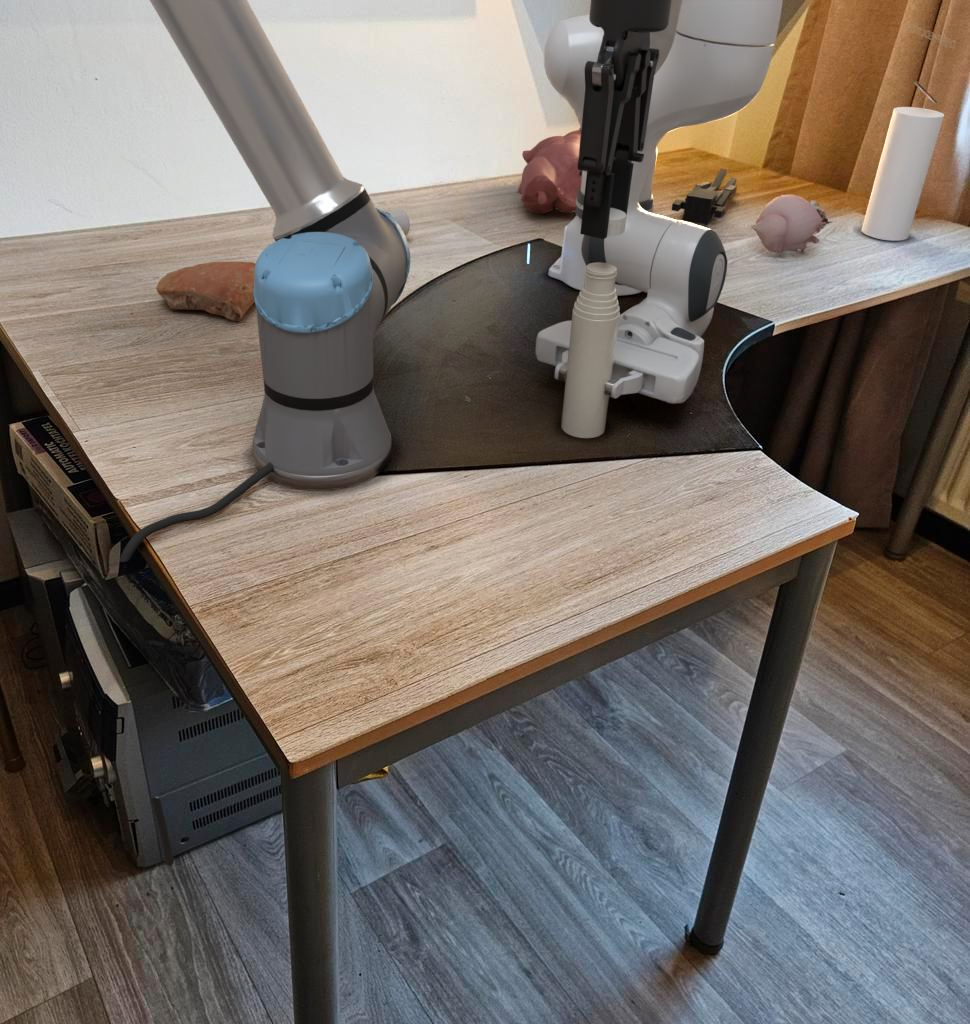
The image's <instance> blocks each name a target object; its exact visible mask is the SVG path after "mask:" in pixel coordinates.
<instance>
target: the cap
mask: <svg viewBox="0 0 970 1024" xmlns="http://www.w3.org/2000/svg"><path fill="white" fill-rule="evenodd" d="M625 226H626V213H625V212H623V211H621V210H618V209H615V208H610V215H609V223H608V231H607V236H615V235H620V234H622V233H623V232H624V231H625Z"/></svg>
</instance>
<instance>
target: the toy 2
mask: <svg viewBox="0 0 970 1024" xmlns="http://www.w3.org/2000/svg"><path fill="white" fill-rule="evenodd" d="M820 207H821V206H820V203H817V202H816V201H815V200H813V199H811V200H810V201H808V200H807V199H806V198H804V197H801V196H798V195H796V194H789V193H788V194H781V195H778V196H777V197H774V198H773V199H771V200H770V201H769V202H768V203H767V204H765V206H763V209H762V210H761V212H760V213H759V215H758V217H756V220H755V224H751V225H750V226H751V229H752V230H754V231H755V233H756V234H757V235H756V236H758V238H759V240H760V242H761V244H762V246H763V247H764V248H765V250H766V251H768V252H770V253H775V254H777V255H779V254H782V253H784V252H796V253H798V252H799V251H798V250H800V252H803V251H805V250H806V249H807V245H808V244H809V243H812V244H818V243H819V241H820V239H819V238H818V237H816V236H815V235H817V234H819V233H820V232H821V230H823V229H825V227H826V226H827V225H830V224H831V223H832V221H831V220H830V221H829V219H828V218H827V213H826V211H825V210H826V209H821V208H820Z"/></svg>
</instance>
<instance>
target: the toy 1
mask: <svg viewBox="0 0 970 1024" xmlns="http://www.w3.org/2000/svg"><path fill="white" fill-rule="evenodd" d="M727 171H728V170H727V169H726V168H720V169H719V171H718V173H717V175H716V177H715V178H714V180H713V182H710V181H704V182H700V183H697V184H695V185H694V187H693V188H692V190H691V191H690V192H688V193H687V195H686V197H685V198H684V200H683V199H676V200H674V201H673V202H672V205H671V211H673V212H680V210H683V216H682V221H685V222H688V223H692V224H698V225H706V226H707V225H709V223H711V221H712V220H713V218H716V219H722V217H723V216H724V215H725V212H726V204H727V203H728V201H729V199H730V198H731V197H732V196H734V195H735V194H736V193H737V188H738V185H736V182H737V177H732V176H731V177H730V178H729V179H728V180H727V182H726V183H725V185H724V187H723V188H722V190H719V189H720V188H721V186H722V184H723V181H724V180H725V178H726V176H727Z"/></svg>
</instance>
